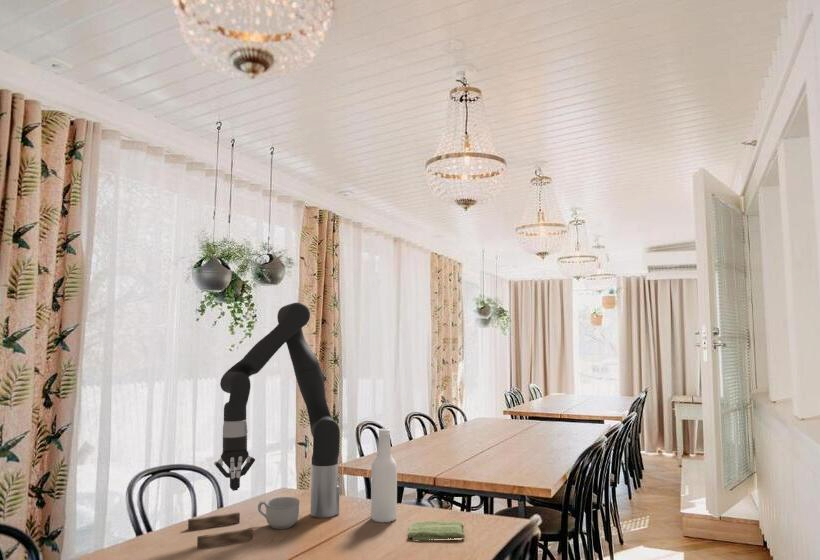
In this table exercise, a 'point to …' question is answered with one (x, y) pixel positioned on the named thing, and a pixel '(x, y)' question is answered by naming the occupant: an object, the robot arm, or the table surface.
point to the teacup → (280, 511)
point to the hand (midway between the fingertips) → (234, 489)
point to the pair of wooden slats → (219, 537)
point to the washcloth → (436, 530)
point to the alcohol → (384, 481)
